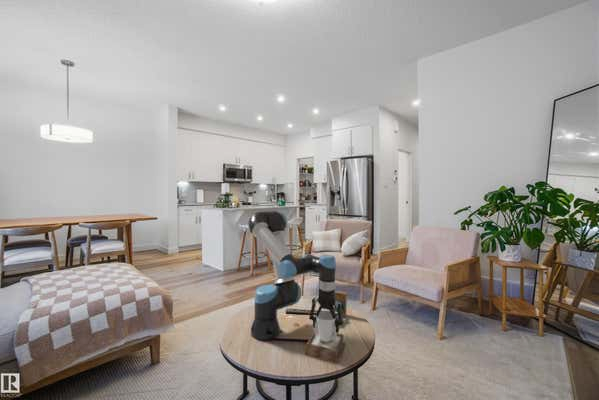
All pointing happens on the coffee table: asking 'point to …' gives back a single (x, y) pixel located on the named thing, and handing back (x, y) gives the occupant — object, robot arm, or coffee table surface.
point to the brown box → (325, 348)
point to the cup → (325, 325)
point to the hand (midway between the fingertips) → (325, 336)
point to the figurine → (343, 299)
